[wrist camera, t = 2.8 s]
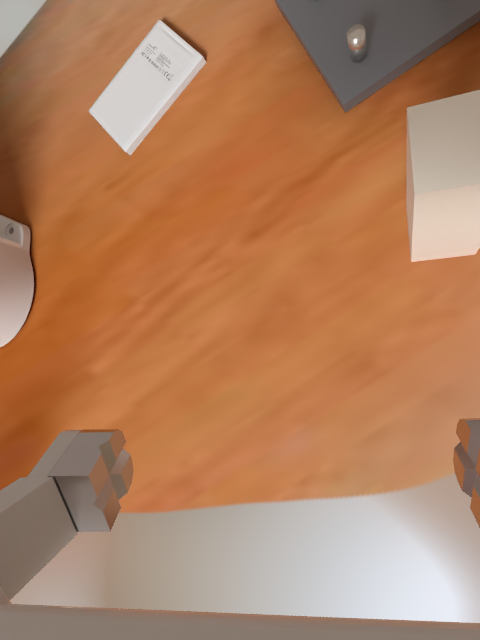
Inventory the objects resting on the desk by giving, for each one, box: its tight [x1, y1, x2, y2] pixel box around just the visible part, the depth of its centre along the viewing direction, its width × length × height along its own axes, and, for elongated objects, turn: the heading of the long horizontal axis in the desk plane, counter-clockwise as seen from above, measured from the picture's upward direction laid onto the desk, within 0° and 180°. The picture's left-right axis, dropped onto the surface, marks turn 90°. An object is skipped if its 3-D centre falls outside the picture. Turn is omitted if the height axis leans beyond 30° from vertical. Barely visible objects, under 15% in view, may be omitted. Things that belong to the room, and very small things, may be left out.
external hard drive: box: [89, 20, 206, 155], centre depth 44 cm, size 2×8×12 cm
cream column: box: [406, 90, 480, 262], centre depth 25 cm, size 4×4×14 cm
